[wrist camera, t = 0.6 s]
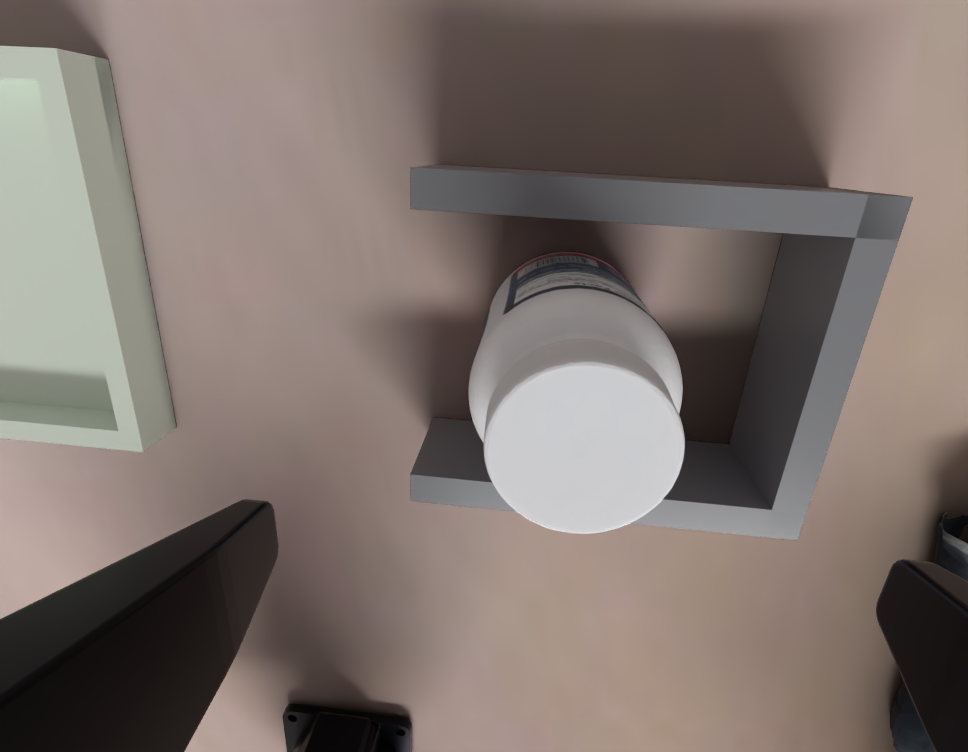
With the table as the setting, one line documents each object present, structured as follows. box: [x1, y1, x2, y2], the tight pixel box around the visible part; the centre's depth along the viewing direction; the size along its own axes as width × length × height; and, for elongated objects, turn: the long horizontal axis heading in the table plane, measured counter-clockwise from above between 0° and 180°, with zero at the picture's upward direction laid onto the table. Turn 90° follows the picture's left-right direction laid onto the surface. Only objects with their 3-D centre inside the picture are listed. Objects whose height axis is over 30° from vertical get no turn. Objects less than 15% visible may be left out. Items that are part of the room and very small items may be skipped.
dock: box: [410, 164, 913, 540], centre depth 17 cm, size 10×12×4 cm
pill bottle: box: [469, 252, 685, 534], centre depth 15 cm, size 5×5×9 cm
